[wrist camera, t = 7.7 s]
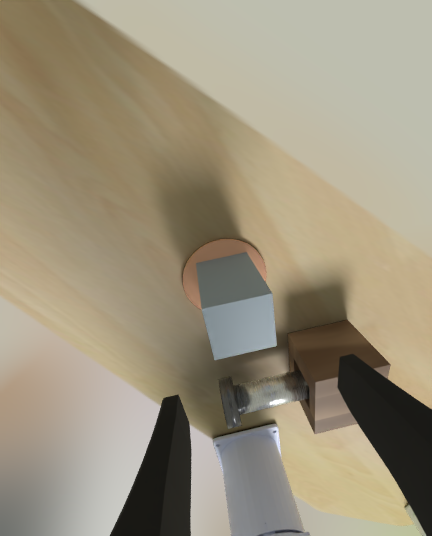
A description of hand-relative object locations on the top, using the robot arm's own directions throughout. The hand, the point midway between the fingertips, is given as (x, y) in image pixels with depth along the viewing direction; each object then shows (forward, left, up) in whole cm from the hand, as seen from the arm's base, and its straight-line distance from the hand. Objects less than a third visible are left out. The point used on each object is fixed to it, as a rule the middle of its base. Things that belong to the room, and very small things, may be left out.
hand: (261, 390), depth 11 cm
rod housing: (-11, -8, -10) cm, 17 cm away
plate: (0, 0, -10) cm, 10 cm away
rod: (-11, -2, -9) cm, 15 cm away
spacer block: (0, 0, -10) cm, 10 cm away
